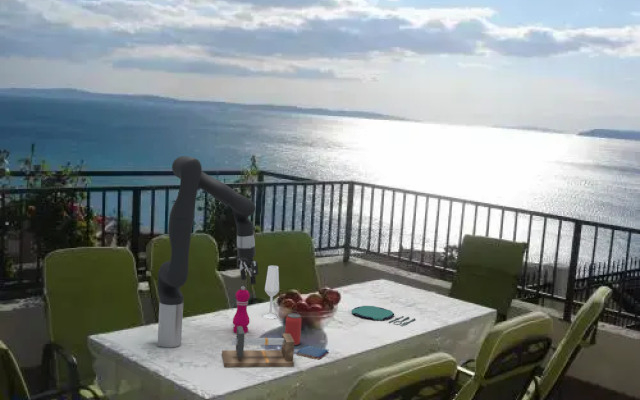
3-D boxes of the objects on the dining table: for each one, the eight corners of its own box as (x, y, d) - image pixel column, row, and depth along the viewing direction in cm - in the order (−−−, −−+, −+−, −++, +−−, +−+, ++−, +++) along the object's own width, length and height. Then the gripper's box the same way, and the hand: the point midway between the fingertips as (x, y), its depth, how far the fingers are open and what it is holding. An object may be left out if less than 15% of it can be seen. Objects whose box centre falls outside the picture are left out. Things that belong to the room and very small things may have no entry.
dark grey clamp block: (237, 356, 255) (239, 333, 254) (235, 348, 264) (237, 326, 263) (243, 356, 256) (244, 333, 255) (240, 348, 265) (242, 326, 264)
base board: (224, 367, 252) (225, 343, 251) (221, 354, 266) (223, 331, 265) (293, 366, 258) (295, 343, 257) (287, 353, 271) (289, 331, 270)
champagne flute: (276, 319, 318) (280, 268, 315) (262, 318, 318) (265, 267, 315) (277, 315, 324) (281, 265, 322) (263, 314, 324) (266, 264, 322)
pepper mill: (246, 334, 292) (248, 288, 290) (229, 332, 293) (232, 287, 291) (251, 329, 299) (253, 285, 297) (235, 327, 300) (237, 283, 298)
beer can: (288, 346, 280) (290, 318, 279) (281, 341, 286) (283, 313, 285) (302, 345, 284) (304, 316, 282) (295, 340, 289) (297, 312, 288)
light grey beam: (232, 345, 258) (232, 339, 258) (231, 343, 260) (232, 337, 260) (284, 345, 262) (284, 339, 262) (283, 343, 264) (283, 337, 264)
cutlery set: (365, 307, 350) (365, 302, 350) (418, 321, 334) (418, 316, 333) (344, 315, 334) (345, 310, 334) (399, 330, 317) (399, 325, 317)
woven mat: (305, 349, 280) (305, 344, 280) (329, 353, 276) (329, 349, 276) (294, 356, 271) (295, 351, 271) (319, 361, 267) (319, 356, 267)
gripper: (230, 243, 293) (232, 279, 296) (246, 250, 281) (248, 287, 285) (245, 240, 297) (248, 276, 300) (262, 246, 286) (264, 284, 289)
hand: (248, 281), depth 292 cm, fingers open, 8 cm apart
